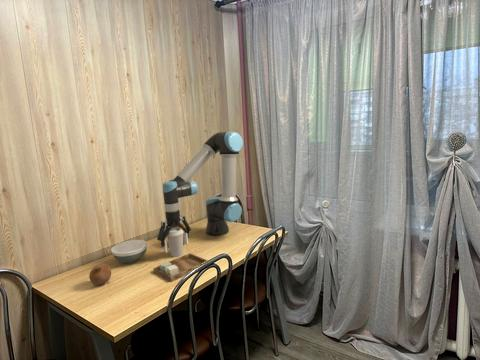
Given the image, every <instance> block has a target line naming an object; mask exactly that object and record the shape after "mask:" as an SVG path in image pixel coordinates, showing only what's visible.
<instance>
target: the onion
mask: <svg viewBox="0 0 480 360" xmlns="http://www.w3.org/2000/svg"><path fill="white" fill-rule="evenodd" d="M111 275H112V269H111V268H110V266H108V265H107V264H98V265H95V266H94V267H93V268H92V269H91V271H90V272H89V276H88V277H89V281H90V282H91V283H92V284H93V285H95V286H103V285H105V284H106V283H107V282H108V281H109V280H110V279H111V277H112V276H111Z"/></svg>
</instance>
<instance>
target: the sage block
mask: <svg viewBox="0 0 480 360" xmlns="http://www.w3.org/2000/svg"><path fill="white" fill-rule="evenodd" d="M159 266H160V270H161V271H163V272H165V273H166V274H167V267H169V266H172V264H171V263H169V261H164V262H162V263H160V264H159Z"/></svg>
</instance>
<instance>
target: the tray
mask: <svg viewBox="0 0 480 360" xmlns="http://www.w3.org/2000/svg"><path fill="white" fill-rule="evenodd" d="M206 261H209V260H207V259H205V258H203V257H200V256H199V255H195V254H193V253H190V252H189V253H186V254H185V255H184V254H183V255H182V256H180V257H176V258H175V259H172V260H170V261H168V262H169V263H171V264H172V265H175V266H177V267H178V272H179V274H176V275H174V276H170V275H168V274H166V273H165V272H163V271H161V270H160V265H157V266H156V267H153V269H152V270H153V273H156V274H157V275H159V276H160V277H162V278H164V279H165V280H167V281H170V282H171V283H172V282H175V281H177V280H179V279H181V278H183V276H184V277H186V276H187V275H186V274H187V273H188V272H189V271H191V270H192V269H194V268H196V267H197V266H199V265H201V264H202V263H204V262H206ZM185 275H186V276H185Z"/></svg>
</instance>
